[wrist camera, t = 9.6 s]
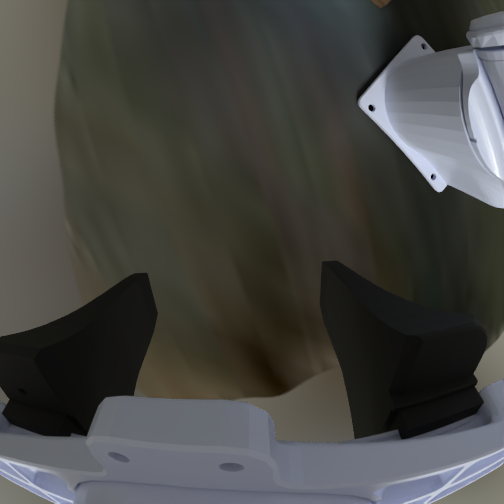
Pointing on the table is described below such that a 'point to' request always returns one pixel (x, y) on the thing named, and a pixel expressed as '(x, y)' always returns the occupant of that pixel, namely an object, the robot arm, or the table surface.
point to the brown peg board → (380, 3)
